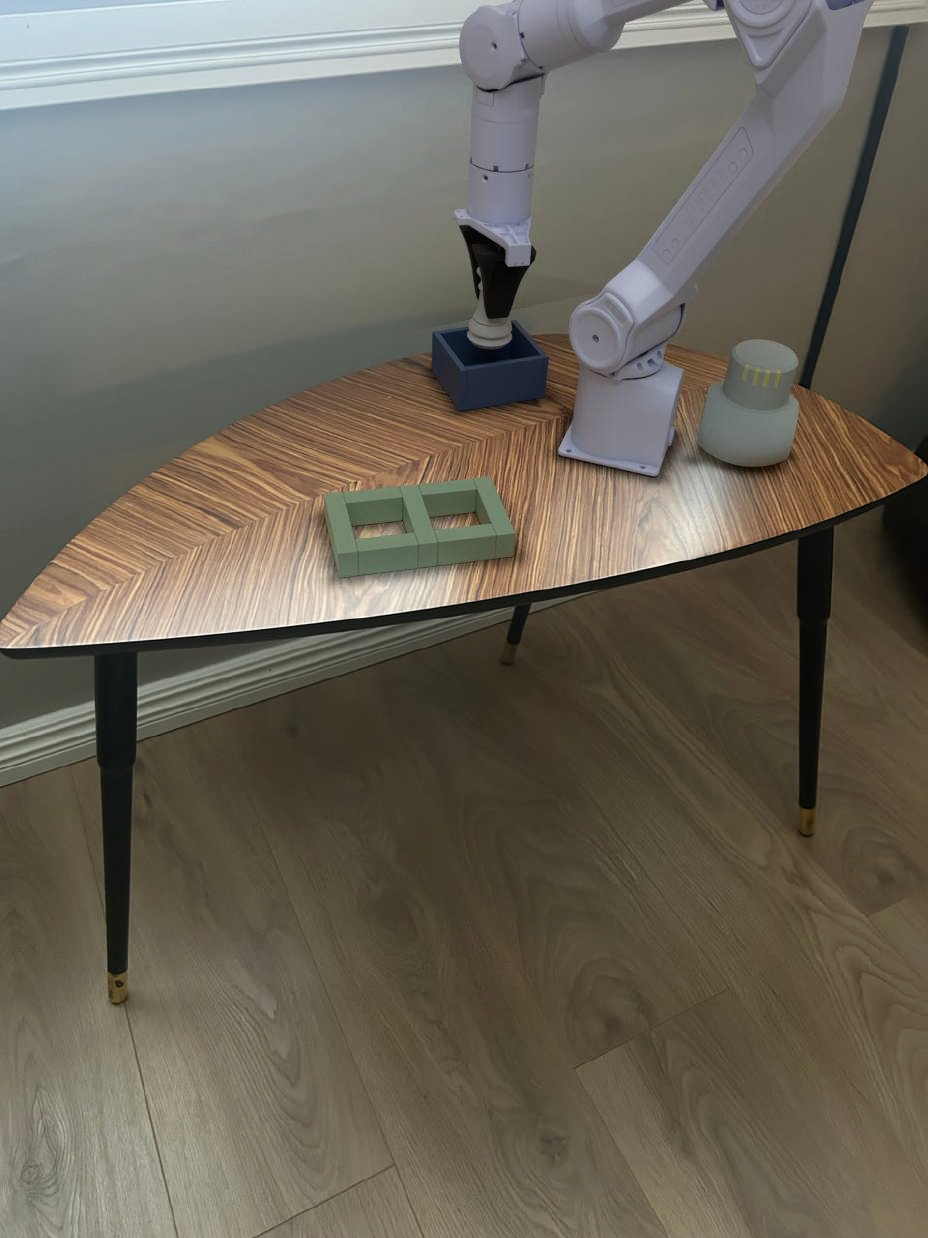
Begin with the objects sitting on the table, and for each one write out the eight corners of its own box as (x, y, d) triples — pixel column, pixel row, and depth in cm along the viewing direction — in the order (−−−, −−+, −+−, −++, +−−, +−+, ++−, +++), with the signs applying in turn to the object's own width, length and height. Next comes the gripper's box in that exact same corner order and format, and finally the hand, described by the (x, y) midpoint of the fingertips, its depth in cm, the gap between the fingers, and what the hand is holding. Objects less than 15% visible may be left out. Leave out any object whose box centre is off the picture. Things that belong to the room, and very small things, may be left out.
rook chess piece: (507, 353, 97) (514, 274, 92) (462, 347, 98) (466, 268, 92) (515, 332, 101) (521, 254, 95) (471, 326, 101) (475, 248, 96)
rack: (488, 499, 88) (490, 475, 86) (513, 556, 83) (515, 532, 81) (325, 517, 85) (323, 493, 84) (338, 578, 80) (337, 553, 78)
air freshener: (780, 489, 91) (811, 391, 84) (689, 471, 93) (712, 374, 86) (786, 427, 99) (815, 333, 92) (702, 412, 100) (724, 318, 93)
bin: (512, 358, 107) (516, 319, 104) (544, 397, 101) (549, 356, 98) (431, 371, 104) (432, 331, 101) (459, 411, 98) (461, 370, 95)
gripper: (439, 134, 92) (435, 277, 101) (477, 193, 82) (470, 346, 91) (513, 132, 93) (503, 273, 103) (560, 190, 83) (544, 340, 92)
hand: (492, 307), depth 97 cm, fingers closed on rook chess piece, 3 cm apart
